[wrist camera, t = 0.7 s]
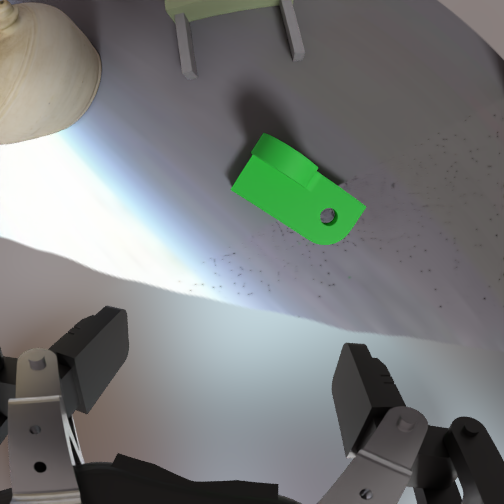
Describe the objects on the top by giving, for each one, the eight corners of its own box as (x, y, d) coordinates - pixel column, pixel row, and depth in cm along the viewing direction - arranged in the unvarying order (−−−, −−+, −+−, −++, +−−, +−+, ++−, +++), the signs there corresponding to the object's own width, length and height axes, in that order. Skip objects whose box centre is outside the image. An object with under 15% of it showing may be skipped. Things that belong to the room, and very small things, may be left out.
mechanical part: (233, 188, 32) (220, 194, 24) (264, 139, 30) (262, 129, 23) (329, 251, 33) (345, 275, 25) (361, 204, 31) (387, 215, 24)
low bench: (290, -6, 25) (291, -24, 22) (307, 59, 28) (311, 46, 24) (175, 15, 27) (164, 0, 23) (184, 81, 29) (173, 70, 25)
